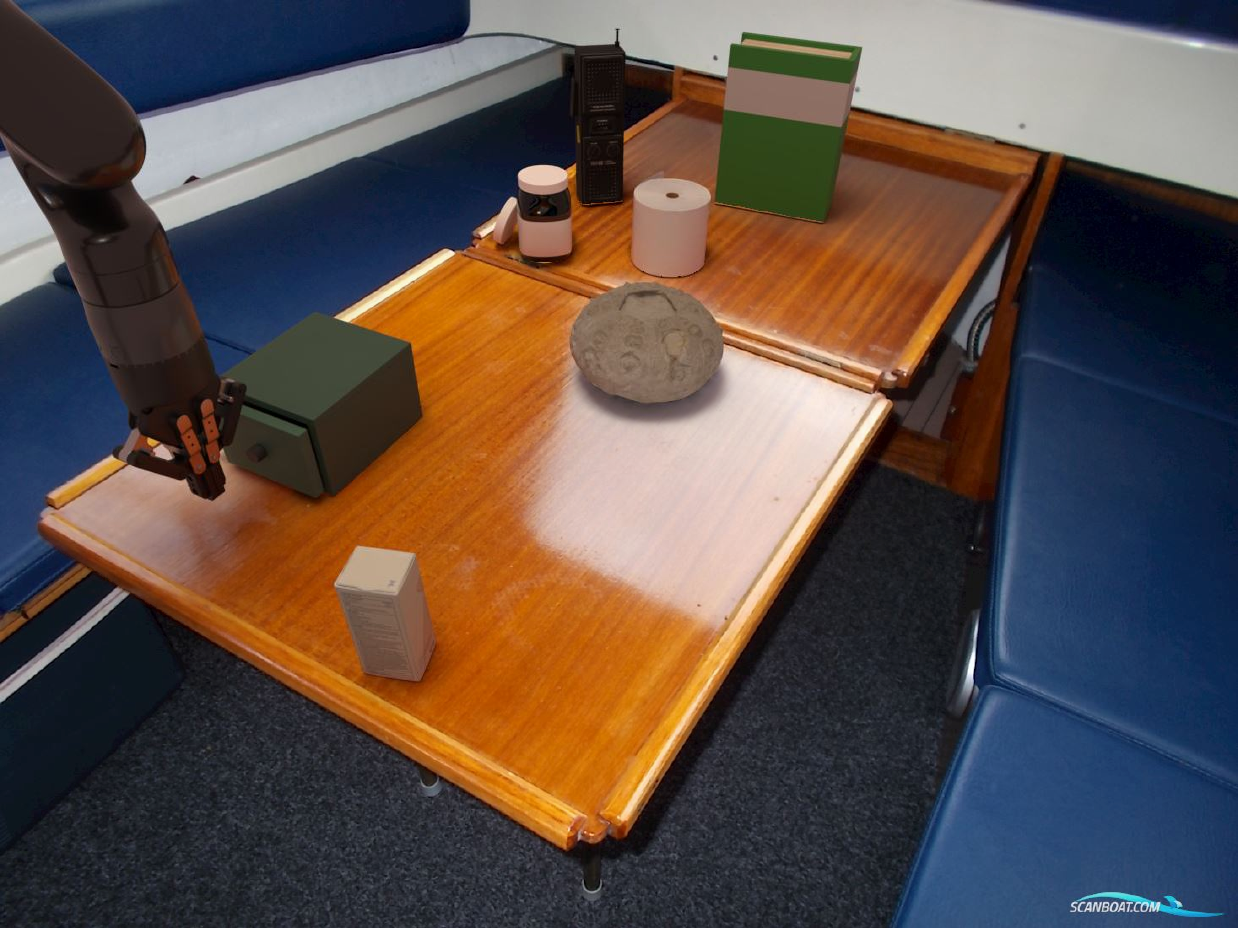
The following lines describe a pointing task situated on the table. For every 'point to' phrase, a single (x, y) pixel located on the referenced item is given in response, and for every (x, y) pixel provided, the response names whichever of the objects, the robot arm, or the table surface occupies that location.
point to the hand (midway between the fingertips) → (211, 493)
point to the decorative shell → (647, 342)
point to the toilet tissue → (669, 226)
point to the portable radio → (599, 121)
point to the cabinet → (336, 390)
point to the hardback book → (785, 124)
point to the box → (387, 612)
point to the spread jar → (539, 215)
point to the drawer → (275, 449)
